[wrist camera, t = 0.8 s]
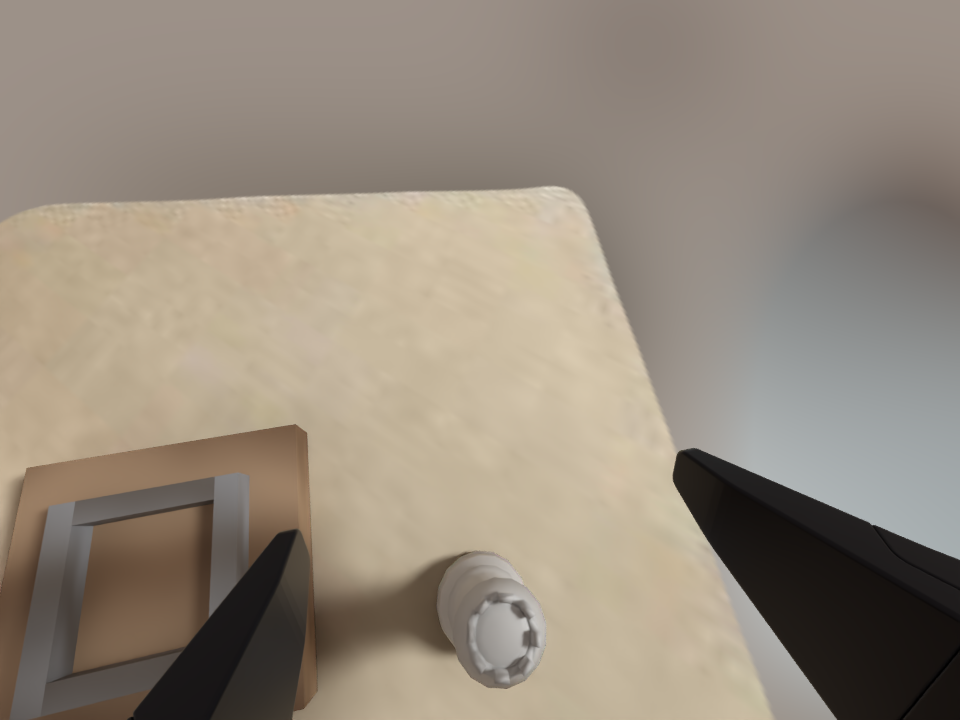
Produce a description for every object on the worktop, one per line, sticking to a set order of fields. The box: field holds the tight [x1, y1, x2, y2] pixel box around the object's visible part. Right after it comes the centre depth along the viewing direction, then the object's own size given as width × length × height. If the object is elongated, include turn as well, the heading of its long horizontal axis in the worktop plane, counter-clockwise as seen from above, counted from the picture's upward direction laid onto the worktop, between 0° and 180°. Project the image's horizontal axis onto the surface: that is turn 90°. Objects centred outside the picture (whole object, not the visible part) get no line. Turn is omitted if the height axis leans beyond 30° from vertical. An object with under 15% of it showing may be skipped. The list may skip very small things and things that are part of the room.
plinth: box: [0, 424, 318, 720], centre depth 18 cm, size 12×12×3 cm
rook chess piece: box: [436, 551, 546, 689], centre depth 17 cm, size 4×4×8 cm
